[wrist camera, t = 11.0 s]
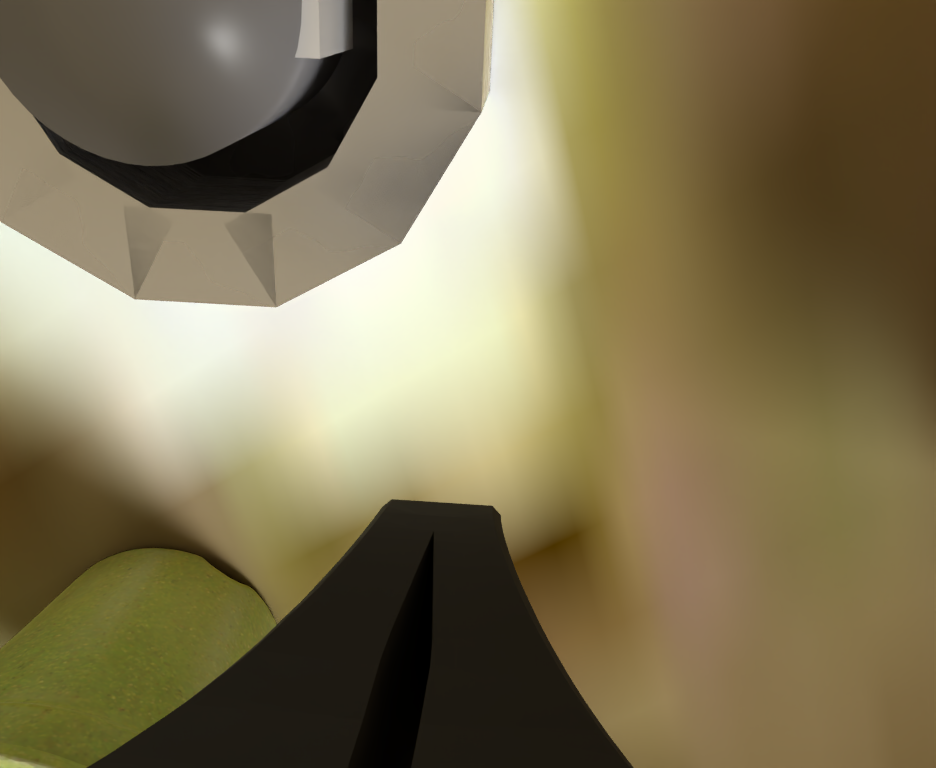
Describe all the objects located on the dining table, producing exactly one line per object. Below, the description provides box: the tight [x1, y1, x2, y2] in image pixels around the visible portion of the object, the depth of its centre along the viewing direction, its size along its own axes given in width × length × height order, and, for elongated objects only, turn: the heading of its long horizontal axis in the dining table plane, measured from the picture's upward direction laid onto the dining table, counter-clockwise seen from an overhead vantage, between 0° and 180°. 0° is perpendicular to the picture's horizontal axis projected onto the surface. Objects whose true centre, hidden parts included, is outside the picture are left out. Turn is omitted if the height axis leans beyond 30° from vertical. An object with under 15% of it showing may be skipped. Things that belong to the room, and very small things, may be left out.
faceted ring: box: [0, 0, 494, 307], centre depth 16 cm, size 10×10×4 cm
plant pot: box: [0, 548, 277, 768], centre depth 20 cm, size 9×9×9 cm
